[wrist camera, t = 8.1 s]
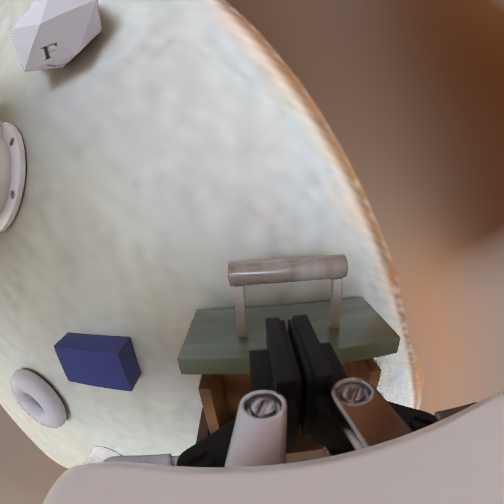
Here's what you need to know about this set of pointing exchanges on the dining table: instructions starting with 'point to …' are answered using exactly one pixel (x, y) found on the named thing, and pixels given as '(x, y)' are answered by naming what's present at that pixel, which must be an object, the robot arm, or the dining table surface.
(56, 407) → the donut
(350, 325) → the drawer
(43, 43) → the die
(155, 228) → the dining table surface
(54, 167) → the dining table surface
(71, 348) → the tall navy block
